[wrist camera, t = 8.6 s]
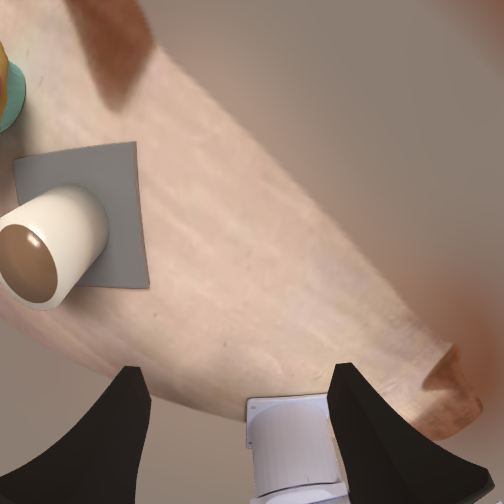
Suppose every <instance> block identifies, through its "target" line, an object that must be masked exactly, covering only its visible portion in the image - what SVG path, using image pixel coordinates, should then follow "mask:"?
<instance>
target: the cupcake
mask: <svg viewBox="0 0 504 504" xmlns="http://www.w3.org/2000/svg"><path fill="white" fill-rule="evenodd" d="M24 97H25V79H24V76H23V73H22V71H21V70H20V69H19V68H18V67H17V66H16V65H14V64H13V63H11V62H10V61H9V60H8V58H7V55H6V53H5V51H4V48H3V46H2V43H1V42H0V133H1V132H2V131H4V130H6V129H7V128H8V127H10V126H11V125H12V123H13V122H14V121H15V120H16V118H17V117H18V115H19V113H20V111H21V108H22V105H23V102H24Z"/></svg>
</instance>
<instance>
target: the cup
mask: <svg viewBox="0 0 504 504" xmlns="http://www.w3.org/2000/svg"><path fill="white" fill-rule="evenodd" d="M108 237H109V223H108V218H107V214H106V212H105V209H104V207H103V205H102V204H101V202H100V201H99V199H98V198H97V197H96V196H95V195H94V194H93V193H92V192H91V191H90V190H88V189H87V188H85V187H83V186H81V185H78V184H74V183H67V184H62V185H59V186H57V187H55V188H53V189H51V190H49V191H47V192H45V193H43V194H42V195H40V196H38V197H36V198H34V199H32V200H30V201H29V202H27V203H25V204H23V205H21V206H20V207H18V208H16V209H14V210H13V211H11V212H9V213H8V214H6V215H4V216H3V217H1V218H0V282H1V283H2V285H3V286H4V288H5V289H6V290H7V291H8V293H9V294H10V295H11V296H12V297H13V298H14V299H16V300H17V301H18V302H19V303H21V304H22V305H24V306H26V307H28V308H30V309H33V310H37V311H48V310H52V309H54V308H55V307H57V306H58V305H59V304H60V303H61V302H62V300H63V299H64V298H65V296H66V295H67V294H68V293H69V291H70V290H71V289H72V288H73V286H74V285H75V284H76V283H77V281H78V280H79V279H80V278H81V276H82V275H83V274H84V273H85V272H86V270H87V269H88V268H89V267H90V266H91V264H92V263H93V262H94V261H95V260H96V259H97V257H98V256H99V255H100V254H101V253H102V251H103V250H104V248H105V246H106V244H107V241H108Z"/></svg>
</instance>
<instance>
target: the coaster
mask: <svg viewBox="0 0 504 504" xmlns="http://www.w3.org/2000/svg"><path fill="white" fill-rule="evenodd" d="M13 167H14V176H15V183H16V190H17V197H18V203H19V207H20V206H21V205H23V204H25V203H27V202H29V201H30V200H32V199H34V198H36V197H38V196H40V195H42V194H43V193H45V192H47V191H49V190H51V189H53V188H55V187H57V186H59V185H62V184H67V183H74V184H78V185H81V186H83V187H85V188H87V189H88V190H90V191H91V192H92V193H93V194H94V195H95V196H96V197H97V198H98V199H99V201H100V202H101V204H102V205H103V207H104V209H105V212H106V214H107V218H108V223H109V237H108V241H107V244H106V246H105V248H104V250H103V251H102V253H101V254H100V255H99V256H98V257H97V259H96V260H95V261H94V262H93V263H92V264H91V266H90V267H89V268H88V269H87V270H86V272H85V273H84V274H83V275H82V276H81V278H80V279H79V280H78V281H77V283H76V284H75V285H78V286H99V287H124V288H148V286H149V284H150V281H149V274H148V267H147V260H146V253H145V245H144V237H143V228H142V219H141V208H140V197H139V184H138V169H137V149H136V141H132V142H122V143H112V144H103V145H95V146H88V147H80V148H73V149H67V150H61V151H55V152H49V153H44V154H38V155H33V156H28V157H23V158H19V159H15V160H13Z"/></svg>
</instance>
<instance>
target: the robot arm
mask: <svg viewBox="0 0 504 504" xmlns="http://www.w3.org/2000/svg"><path fill="white" fill-rule="evenodd" d="M150 409H151V398H150V395H149V392H148V389H147V386H146V384H145V381H144V378H143V375H142V372H141V369H140V367H133V366H124V367H123V368H122V370H121V371H120V372H119V374H118V375H117V376H116V377H115V379H114V380H113V381H112V383H111V384H110V386H108V388H107V389H106V390H105V391H104V393H103V394H102V395H101V396H100V398H99V399H98V400H97V401H96V402H95V404H94V405H93V406H92V407H91V408H90V409H89V411H88V412H87V413H86V414H85V415H84V416H83V417H82V418H81V419H80V420H79V422H78V423H77V424H76V425H75V426H74V427H73V428H72V429H71V430H70V431H69V432H68V433H66V434H65V435H64V436H63V437H62V438H61V439H60V440H59V441H57V442H56V443H55V444H54V445H53V446H51V447H50V448H49V449H48V450H46V451H45V452H43V453H42V454H41V455H39V456H38V457H36V458H34V459H33V460H31V461H30V462H28V463H27V464H25V465H23V466H22V467H20V468H18V469H16V470H14V471H12V472H10V473H8V474H6V475H3V476H1V477H0V504H135V491H136V479H137V473H138V467H139V463H140V459H141V454H142V450H143V446H144V442H145V438H146V433H147V429H148V425H149V418H150ZM329 416H330V420H331V424H332V427H333V430H334V433H335V437H336V440H337V443H338V446H339V449H340V453H341V456H342V459H343V462H344V466H345V470H346V474H347V479H348V484H349V490H348V493H347V489H346V485H345V482H342V479H341V475H340V470H339V466H338V462H337V458H336V454H335V450H334V446H333V442H332V439H331V435H330V431H329V427H328V423H327V421H328V418H329ZM246 428H247V429H246V448H248V449H253V463H254V478H255V494H256V498H255V499H250V504H473V503H475V502H476V501H478V500H479V499H481V498H482V497H483V496H485V495H486V494H487V493H489V492H490V491H491V490H493V489H494V487H495V484H494V482H493V480H492V478H491V476H490V474H489V472H488V470H487V469H486V468H483V467H481V466H478V465H476V464H473V463H471V462H468V461H466V460H464V459H462V458H460V457H457V456H456V455H453V454H452V453H450V452H448V451H447V450H445V449H443V448H442V447H440V446H439V445H437V444H435V443H434V442H432V441H431V440H429V439H428V438H426V437H425V436H424V435H422V434H421V433H420V432H418V431H417V430H416V429H415V428H413V427H412V426H411V425H410V424H409V423H407V422H406V421H405V420H404V419H403V418H402V417H401V416H400V415H399V414H398V413H397V412H396V411H395V410H394V409H393V408H392V407H391V406H390V405H389V404H388V403H387V402H386V401H385V400H384V399H383V398H382V397H381V396H380V395H379V394H378V393H377V392H376V390H375V389H374V388H373V387H372V386H371V385H370V384H369V383H368V381H367V380H366V379H365V378H364V377H363V375H362V374H361V373H360V372H359V371H358V370H357V368H356V367H355V366H354V365H353V364H352V363H351V362H350V363H341V364H336V365H335V369H334V373H333V376H332V380H331V383H330V387H329V390H328V393H325V394H316V395H304V396H291V397H273V398H251V399H249V400H248V401H247V427H246ZM495 504H502V503H501V501H497V502H496V503H495Z"/></svg>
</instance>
